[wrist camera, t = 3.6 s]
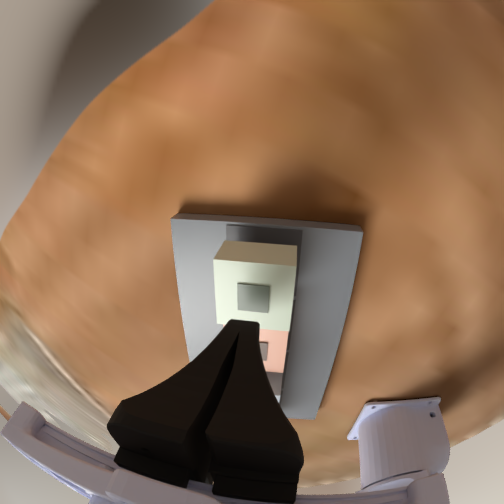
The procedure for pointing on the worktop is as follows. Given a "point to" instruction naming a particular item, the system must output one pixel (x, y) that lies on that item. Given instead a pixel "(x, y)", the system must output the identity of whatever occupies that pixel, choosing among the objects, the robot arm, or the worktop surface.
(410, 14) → the worktop surface
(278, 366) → the key
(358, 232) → the keypad board
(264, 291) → the key
